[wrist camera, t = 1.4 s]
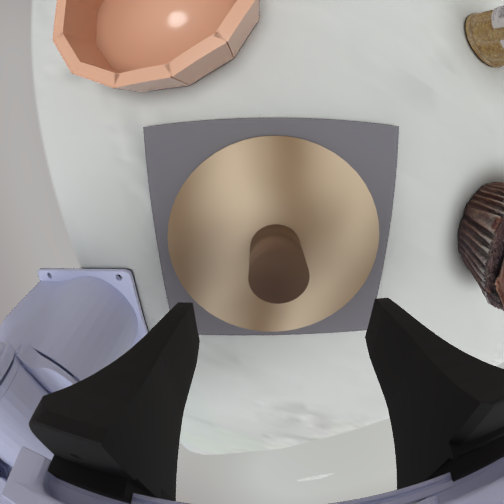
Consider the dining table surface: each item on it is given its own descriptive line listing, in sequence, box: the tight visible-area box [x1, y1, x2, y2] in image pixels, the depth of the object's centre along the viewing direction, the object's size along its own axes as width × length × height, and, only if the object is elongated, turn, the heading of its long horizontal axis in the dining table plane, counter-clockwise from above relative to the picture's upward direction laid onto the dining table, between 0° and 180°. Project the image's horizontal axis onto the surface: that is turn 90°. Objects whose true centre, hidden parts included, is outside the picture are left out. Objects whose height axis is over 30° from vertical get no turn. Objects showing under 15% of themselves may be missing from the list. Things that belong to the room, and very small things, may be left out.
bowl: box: [53, 0, 259, 92], centre depth 11 cm, size 11×11×4 cm
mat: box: [143, 118, 399, 335], centre depth 19 cm, size 15×15×1 cm
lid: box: [167, 135, 379, 332], centre depth 16 cm, size 13×13×4 cm
